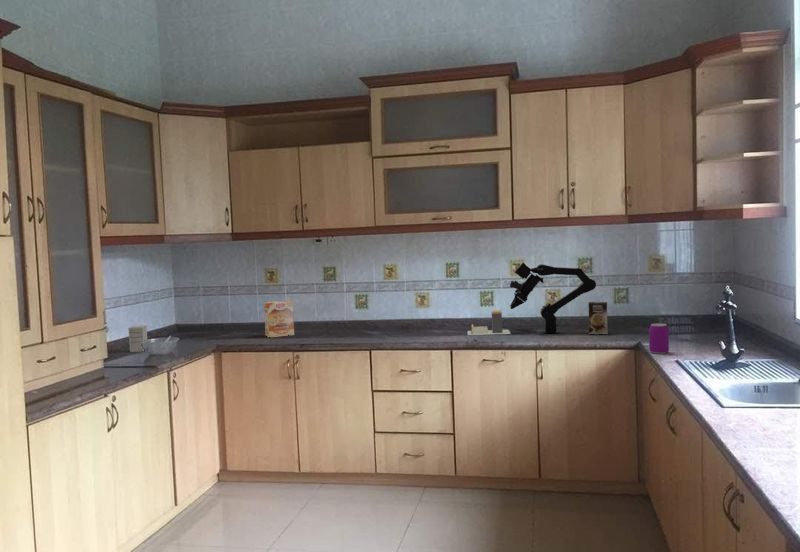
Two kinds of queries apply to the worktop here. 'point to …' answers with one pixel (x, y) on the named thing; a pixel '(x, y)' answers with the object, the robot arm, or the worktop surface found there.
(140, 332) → the supplement box
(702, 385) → the worktop surface
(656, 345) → the beverage can
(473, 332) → the board
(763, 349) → the worktop surface
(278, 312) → the coffeecake box
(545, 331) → the robot arm
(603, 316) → the coffee box
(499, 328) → the plug
